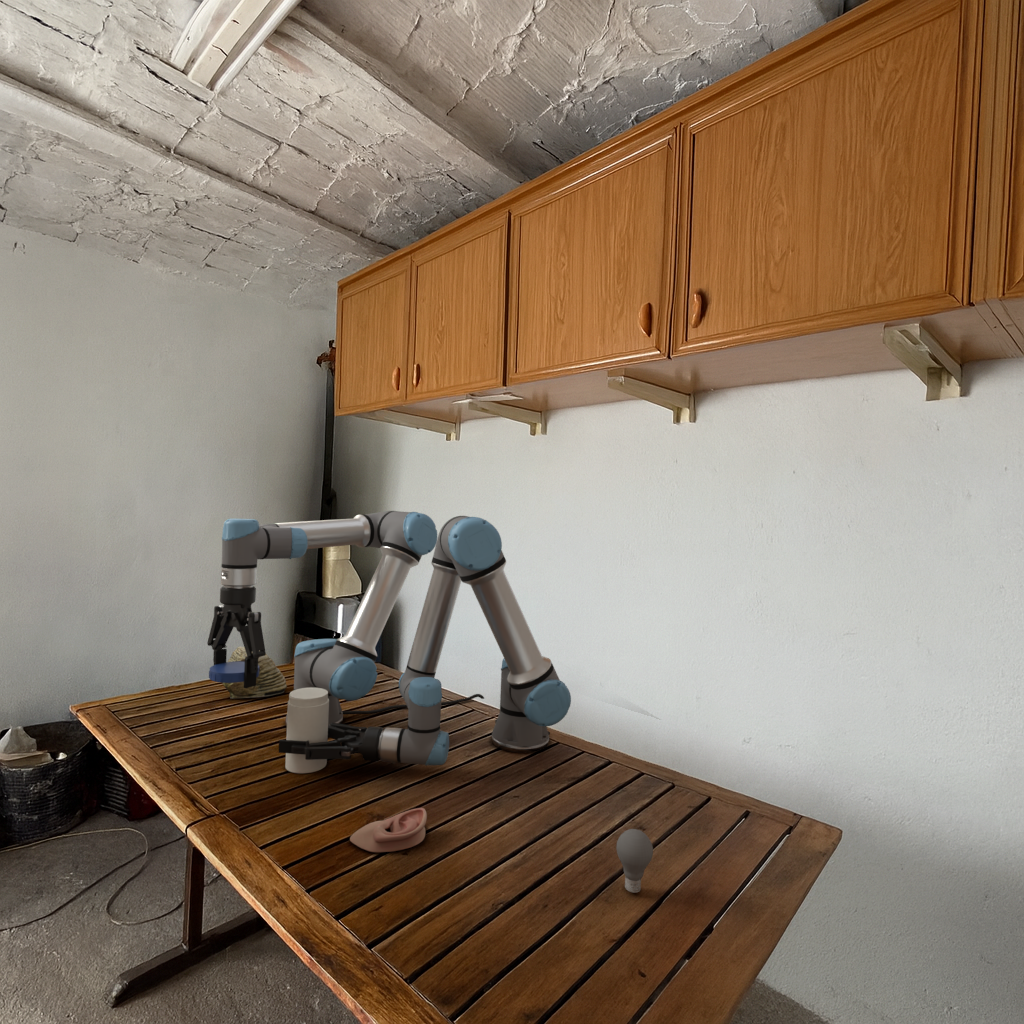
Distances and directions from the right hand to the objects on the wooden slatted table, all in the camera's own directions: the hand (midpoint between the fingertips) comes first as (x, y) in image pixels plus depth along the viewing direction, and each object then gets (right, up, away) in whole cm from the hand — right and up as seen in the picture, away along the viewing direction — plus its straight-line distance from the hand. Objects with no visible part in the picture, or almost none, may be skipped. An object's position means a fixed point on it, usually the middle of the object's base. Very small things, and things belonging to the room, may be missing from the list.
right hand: (288, 737), depth 149 cm
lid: (-11, +17, -4) cm, 21 cm away
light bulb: (+73, -10, -44) cm, 85 cm away
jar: (+4, -6, 0) cm, 8 cm away
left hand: (-11, +14, -4) cm, 18 cm away
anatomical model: (+30, -8, -30) cm, 43 cm away
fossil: (-28, -4, +49) cm, 56 cm away
